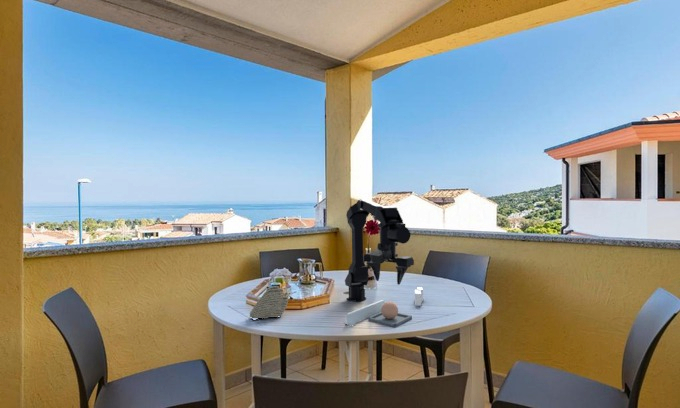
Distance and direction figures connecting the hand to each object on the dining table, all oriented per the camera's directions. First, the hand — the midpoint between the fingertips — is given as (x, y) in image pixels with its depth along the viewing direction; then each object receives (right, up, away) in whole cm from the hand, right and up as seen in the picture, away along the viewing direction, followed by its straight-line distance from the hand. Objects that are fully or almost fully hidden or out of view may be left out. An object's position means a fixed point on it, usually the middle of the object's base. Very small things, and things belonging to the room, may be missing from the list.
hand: (387, 282), depth 131 cm
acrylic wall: (-8, -13, -1) cm, 15 cm away
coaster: (0, -13, -4) cm, 13 cm away
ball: (0, -9, -4) cm, 10 cm away
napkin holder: (+16, -13, +19) cm, 28 cm away
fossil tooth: (-44, -13, +2) cm, 46 cm away
